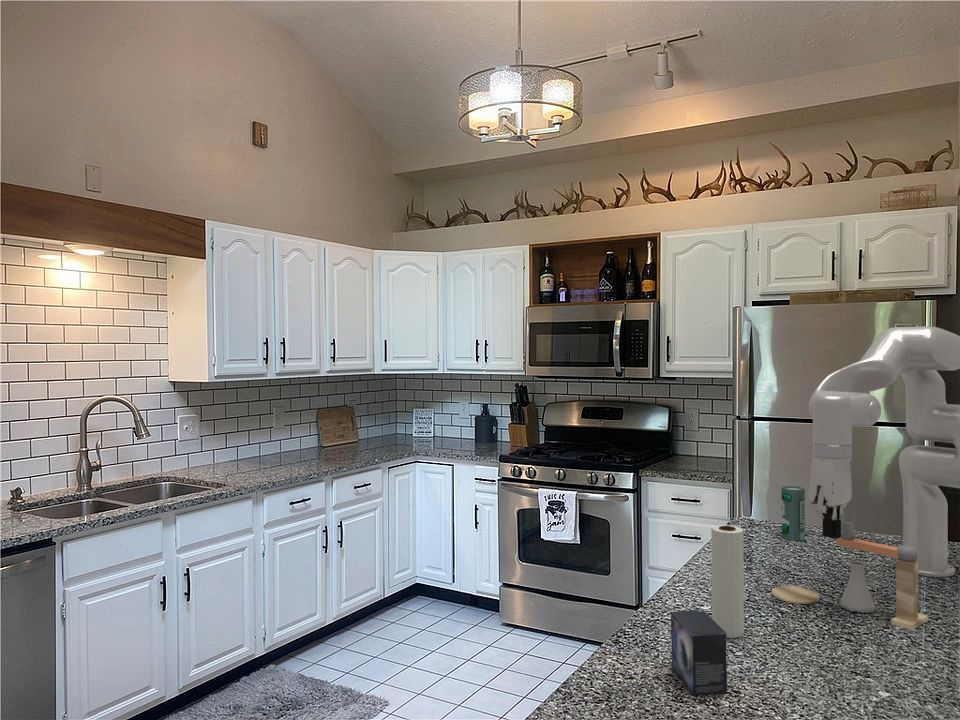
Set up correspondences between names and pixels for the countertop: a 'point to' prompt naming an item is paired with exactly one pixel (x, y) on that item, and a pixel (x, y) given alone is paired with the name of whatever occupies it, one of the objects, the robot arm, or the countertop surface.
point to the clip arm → (874, 545)
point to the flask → (857, 591)
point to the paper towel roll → (728, 579)
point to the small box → (699, 652)
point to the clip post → (907, 596)
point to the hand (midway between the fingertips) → (831, 536)
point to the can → (793, 513)
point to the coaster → (795, 594)
